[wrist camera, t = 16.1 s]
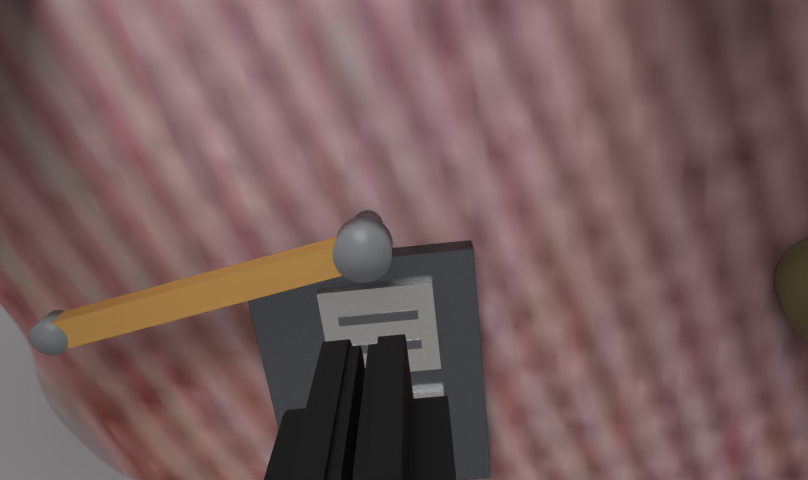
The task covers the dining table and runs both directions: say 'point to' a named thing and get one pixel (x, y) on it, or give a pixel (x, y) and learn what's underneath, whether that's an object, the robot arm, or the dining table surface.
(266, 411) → the dining table surface
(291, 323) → the label base
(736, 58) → the dining table surface
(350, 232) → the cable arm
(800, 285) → the squeeze bottle
